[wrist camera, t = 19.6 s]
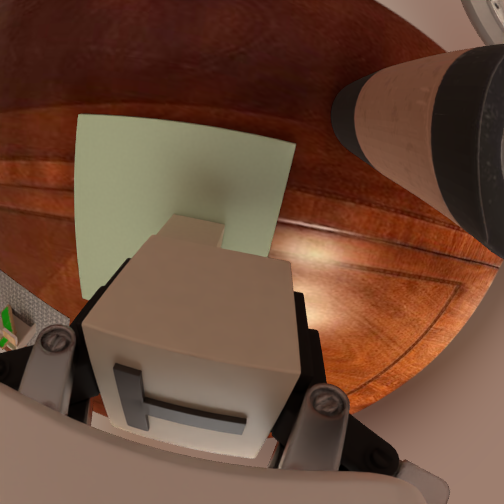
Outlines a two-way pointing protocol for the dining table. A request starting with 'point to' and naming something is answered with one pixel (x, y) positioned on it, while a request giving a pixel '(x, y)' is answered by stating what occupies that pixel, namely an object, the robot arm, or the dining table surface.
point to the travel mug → (436, 133)
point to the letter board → (170, 187)
